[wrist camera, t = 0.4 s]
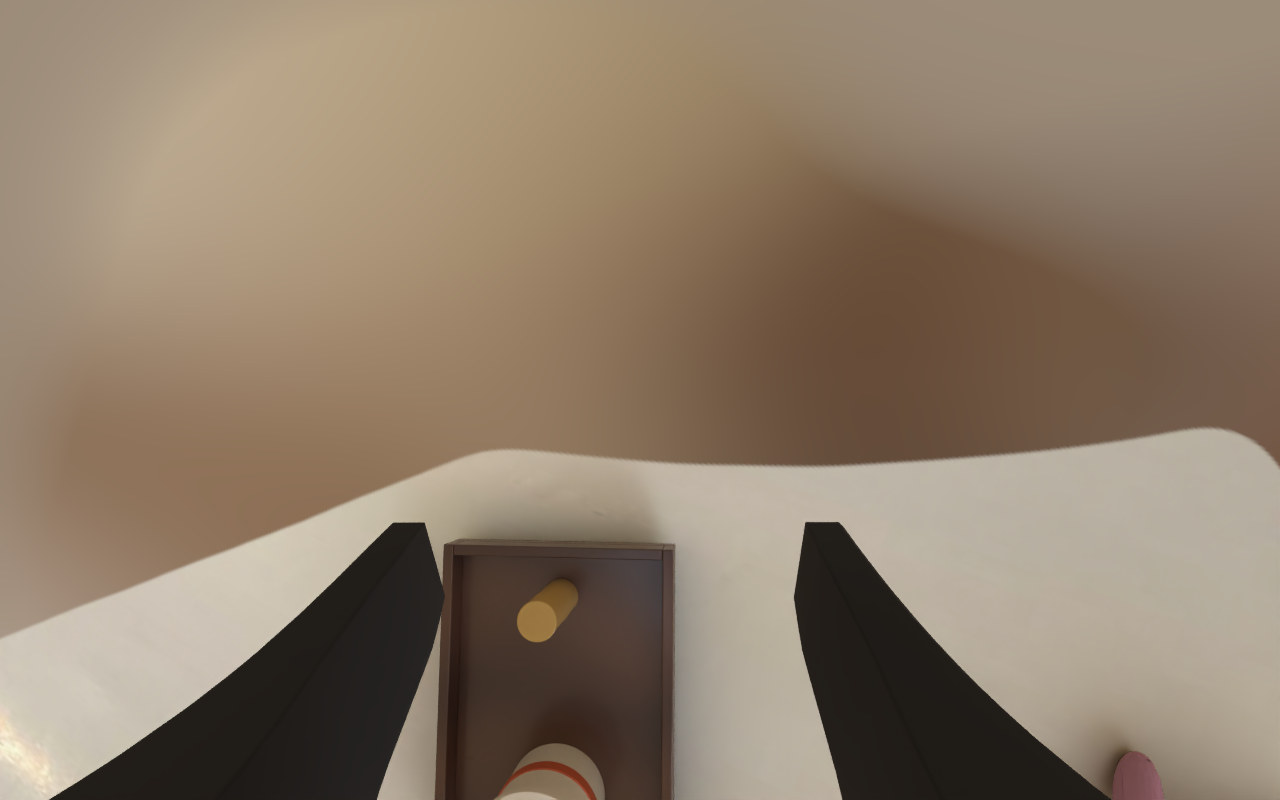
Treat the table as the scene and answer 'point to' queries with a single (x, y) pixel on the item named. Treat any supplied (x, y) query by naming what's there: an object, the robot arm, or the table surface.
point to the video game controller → (1136, 779)
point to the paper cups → (554, 776)
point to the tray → (556, 662)
